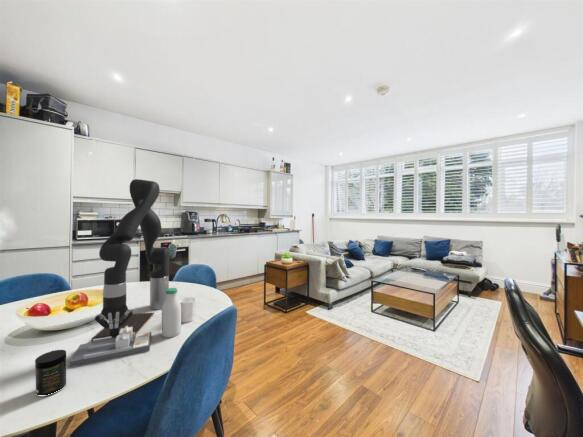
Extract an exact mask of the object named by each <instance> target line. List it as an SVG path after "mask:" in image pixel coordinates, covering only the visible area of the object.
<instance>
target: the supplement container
mask: <svg viewBox="0 0 583 437" xmlns="http://www.w3.org/2000/svg"><path fill="white" fill-rule="evenodd" d="M34 367H35V371H34V372H35V395H36V394H37V395H48V394H51V393H54V392H56V391H58V390H60V389H62V388H63V387H64V386H65V387H66V385H67V351H66V350H65V349H55V350H51V351H48V352H45V353H43V354H41V355H38V356H37V357H36V358H35V360H34ZM65 387H64V388H65ZM64 388H63V389H64ZM63 389H62V390H63ZM60 391H61V390H60ZM37 395H36V396H37Z"/></svg>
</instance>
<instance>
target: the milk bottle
mask: <svg viewBox="0 0 583 437" xmlns="http://www.w3.org/2000/svg"><path fill="white" fill-rule="evenodd" d="M179 300H180V299H179V298H178V288H177V287H169V289H166V299H165V302H164V304H163V307H162V309H161V336H162V337H163V338H172V337H173V338H174V337H176V336H179V335H180V333H182V332H181V331H182V322H181V305H180V302H179Z"/></svg>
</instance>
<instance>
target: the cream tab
mask: <svg viewBox="0 0 583 437" xmlns="http://www.w3.org/2000/svg"><path fill="white" fill-rule="evenodd" d="M122 333H125V334H130V339H132V336H133V327H128V326H126V327H125V328H122V329H121V330H120V332H119V335H122Z"/></svg>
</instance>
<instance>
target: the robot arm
mask: <svg viewBox="0 0 583 437" xmlns="http://www.w3.org/2000/svg"><path fill="white" fill-rule="evenodd" d="M160 188H161V187H160V185H159V183H158V182H156V181H153V180H146V179H140V178H139V179H137V178H136V179H132V180H131V181H130V184H129V193H130V195H129V196H130V197H131V200H132V203H133V205H134V208H133V209H132V210H130V211H129V212H127V213H126V214H125V215H124V216H123V217H122V218H121V219H120V221H119V223H118V225H117V227H116V229H115V231H114V232H113V233H112V234H111V235H110V236H108V238H107V239H106V241H105V242H103V243H102V245H101V246H100V249H99V252H98V255H99V258H100V259H101V260H102V261H104V262H115V264H114V265H113V266H110V267H108V268H106V269H105V270H104V275H103V277H104V278H103V288H102V289H103V290H102V309H101V312H100V313H99V314H96V316H95V317H94V320H95V321H96V322H97V324H99V325H100V326H101V327H102V328H103V329H104V328H109V329H110V337H112V338H115V337H117V336H118V334H119V327H120V326H123V325H124V324H125V323H126V321H127V320H128V319H129V318H130V317H131V316H132V314H134V310H133V309H132V310H131V309H129V308H128V306H127V270H128V267H129V263H130V261H131V256H132V248H131V247H130V246H129V245H128V244H126V242H132V241H133V239H134V238H135V236H136V234H137V232H138V229H139V228H140V231H141V235H142V239H143V242H144V249H145V255H146V256H145V257H146V260H147V263H148V264H149V265H151V266H152V265H161V266H160V267H159V268H156V269H154V270H152V271H151V272H150V273H149V308H150V309H151V310H162V307H163V304H164V302H165V299H166V289H169V288H170V287H169V286H170V285H169V284H170V281H169V280H170V279H169V277H170V275H169V274H170V273H169V271H170V270H169V269H170V250H169V248H168V247H154V244H155V243H156V242H157V240H158V239H159V237H160V236H161V233H162V228H163V227H162V223H161V219H160V217H159V216H158V214H157V213H156V212H155V211H154V210H153V209H152V207H153V205H154V204H155V202H156V200H158V197H159V195H160V190H161V189H160ZM124 314H126V317H125V318H124V319H123V320H122V321H121V322H120V318H121V317H122V316H123V315H124ZM107 320H108V321H107ZM114 320H115V327H114Z"/></svg>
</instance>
